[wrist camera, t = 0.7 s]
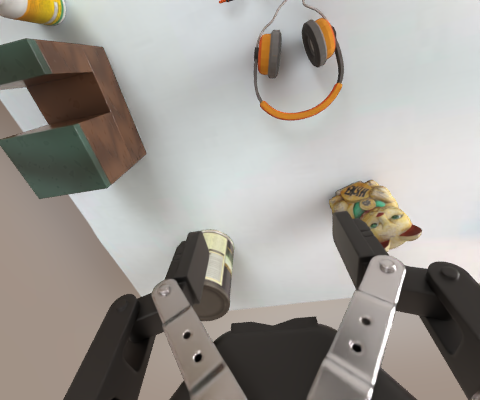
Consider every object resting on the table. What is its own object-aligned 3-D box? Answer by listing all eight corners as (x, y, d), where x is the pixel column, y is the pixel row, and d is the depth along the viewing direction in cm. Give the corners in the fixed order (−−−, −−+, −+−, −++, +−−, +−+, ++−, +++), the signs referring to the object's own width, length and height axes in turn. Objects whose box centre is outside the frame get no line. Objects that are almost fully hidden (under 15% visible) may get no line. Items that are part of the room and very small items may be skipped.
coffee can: (244, 249, 51) (242, 307, 39) (211, 269, 55) (200, 328, 43) (211, 220, 47) (198, 274, 35) (178, 244, 51) (157, 300, 39)
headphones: (368, -113, 22) (376, 102, 28) (349, -69, 27) (359, 106, 33) (206, -54, 25) (243, 132, 31) (215, -24, 30) (246, 131, 36)
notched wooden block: (41, 61, 34) (-62, 61, 22) (103, 46, 32) (26, 38, 21) (95, 162, 42) (39, 199, 30) (146, 153, 40) (107, 188, 29)
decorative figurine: (370, 167, 40) (428, 216, 27) (387, 199, 43) (445, 257, 30) (320, 195, 43) (350, 251, 31) (339, 223, 47) (374, 285, 34)
